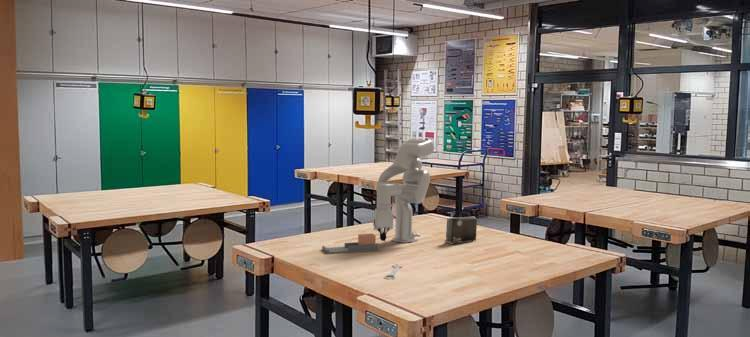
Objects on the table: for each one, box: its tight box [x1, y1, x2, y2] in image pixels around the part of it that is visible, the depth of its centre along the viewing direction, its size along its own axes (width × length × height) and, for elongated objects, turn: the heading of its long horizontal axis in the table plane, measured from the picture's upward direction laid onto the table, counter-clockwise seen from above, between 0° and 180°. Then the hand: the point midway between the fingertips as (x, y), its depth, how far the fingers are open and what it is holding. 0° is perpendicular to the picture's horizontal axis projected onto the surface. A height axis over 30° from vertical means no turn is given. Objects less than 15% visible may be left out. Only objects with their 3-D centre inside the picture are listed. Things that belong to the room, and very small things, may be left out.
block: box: [357, 233, 377, 245], centre depth 310 cm, size 8×5×6 cm, turn 110°
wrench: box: [383, 263, 404, 280], centre depth 266 cm, size 25×2×5 cm
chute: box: [321, 241, 380, 255], centre depth 307 cm, size 28×10×3 cm, turn 110°
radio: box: [444, 215, 478, 245], centre depth 332 cm, size 23×9×15 cm, turn 123°
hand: (383, 240), depth 313 cm, fingers closed
